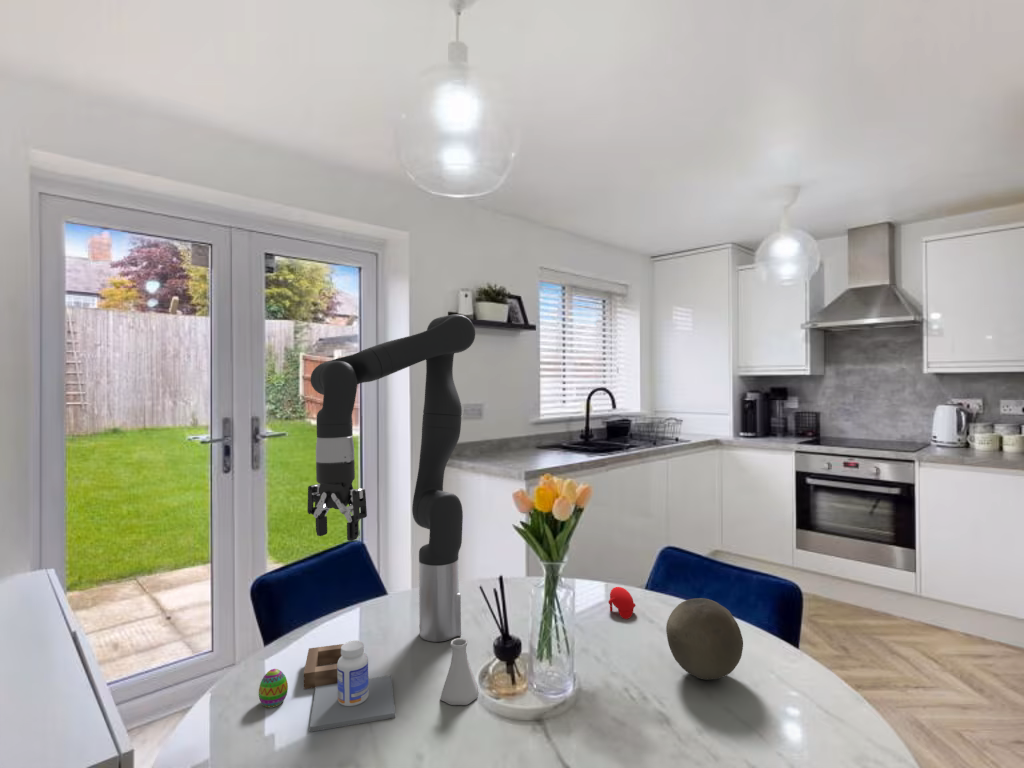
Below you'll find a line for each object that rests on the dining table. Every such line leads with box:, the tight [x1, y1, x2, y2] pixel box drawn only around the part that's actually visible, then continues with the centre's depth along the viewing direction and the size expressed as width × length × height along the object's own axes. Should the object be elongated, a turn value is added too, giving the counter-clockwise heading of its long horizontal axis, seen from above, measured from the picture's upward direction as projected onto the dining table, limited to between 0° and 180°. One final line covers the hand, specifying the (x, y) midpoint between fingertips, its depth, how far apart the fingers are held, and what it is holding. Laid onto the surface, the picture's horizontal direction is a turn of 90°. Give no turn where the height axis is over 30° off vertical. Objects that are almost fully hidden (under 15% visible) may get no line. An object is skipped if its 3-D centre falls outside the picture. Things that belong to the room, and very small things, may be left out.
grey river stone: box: [665, 597, 744, 681], centre depth 106 cm, size 14×14×15 cm
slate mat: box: [309, 674, 396, 733], centre depth 99 cm, size 14×13×1 cm
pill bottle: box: [336, 640, 369, 706], centre depth 99 cm, size 5×5×10 cm
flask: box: [439, 637, 479, 706], centre depth 101 cm, size 7×7×10 cm
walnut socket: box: [303, 643, 344, 690], centre depth 110 cm, size 11×11×3 cm
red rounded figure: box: [608, 586, 636, 620], centre depth 137 cm, size 8×6×6 cm
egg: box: [258, 668, 289, 708], centre depth 99 cm, size 5×5×6 cm
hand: (337, 537), depth 111 cm, fingers open, 8 cm apart
